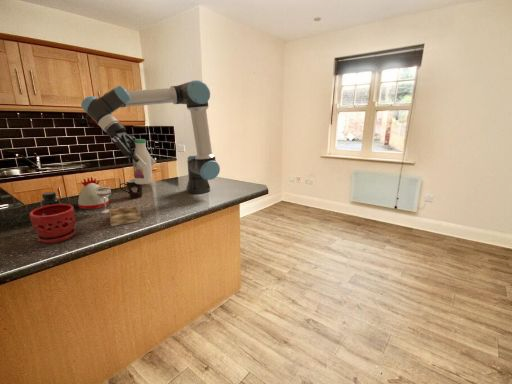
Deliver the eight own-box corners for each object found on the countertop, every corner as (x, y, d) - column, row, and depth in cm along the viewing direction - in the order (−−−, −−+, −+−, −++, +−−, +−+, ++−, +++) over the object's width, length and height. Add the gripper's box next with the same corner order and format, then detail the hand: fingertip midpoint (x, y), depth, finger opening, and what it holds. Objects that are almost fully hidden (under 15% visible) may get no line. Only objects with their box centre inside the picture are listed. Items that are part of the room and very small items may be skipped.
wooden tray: (137, 212, 125) (136, 206, 124) (141, 220, 116) (140, 213, 115) (109, 217, 119) (108, 210, 118) (111, 226, 110) (110, 218, 109)
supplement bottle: (48, 222, 113) (42, 196, 109) (41, 219, 116) (35, 193, 113) (65, 217, 118) (60, 192, 115) (59, 214, 122) (54, 190, 118)
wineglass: (99, 209, 129) (95, 186, 125) (114, 208, 131) (111, 185, 128) (97, 214, 123) (93, 190, 119) (113, 212, 125) (109, 189, 122)
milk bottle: (148, 180, 124) (145, 138, 119) (155, 183, 119) (152, 139, 114) (132, 182, 119) (127, 138, 114) (138, 185, 114) (134, 140, 108)
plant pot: (27, 242, 94) (20, 212, 91) (64, 229, 106) (58, 201, 103) (51, 249, 90) (43, 217, 87) (86, 234, 102) (81, 205, 98)
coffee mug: (146, 195, 155) (145, 179, 152) (139, 199, 146) (137, 182, 144) (128, 194, 156) (126, 178, 153) (120, 198, 147) (117, 181, 145)
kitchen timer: (75, 204, 136) (70, 177, 132) (104, 199, 146) (100, 173, 142) (83, 210, 127) (78, 181, 123) (112, 204, 137) (108, 177, 133)
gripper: (122, 132, 125) (155, 166, 127) (91, 134, 106) (131, 174, 108) (131, 121, 123) (165, 156, 125) (101, 121, 103) (141, 162, 106)
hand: (149, 165), depth 116 cm, fingers closed on milk bottle, 7 cm apart
